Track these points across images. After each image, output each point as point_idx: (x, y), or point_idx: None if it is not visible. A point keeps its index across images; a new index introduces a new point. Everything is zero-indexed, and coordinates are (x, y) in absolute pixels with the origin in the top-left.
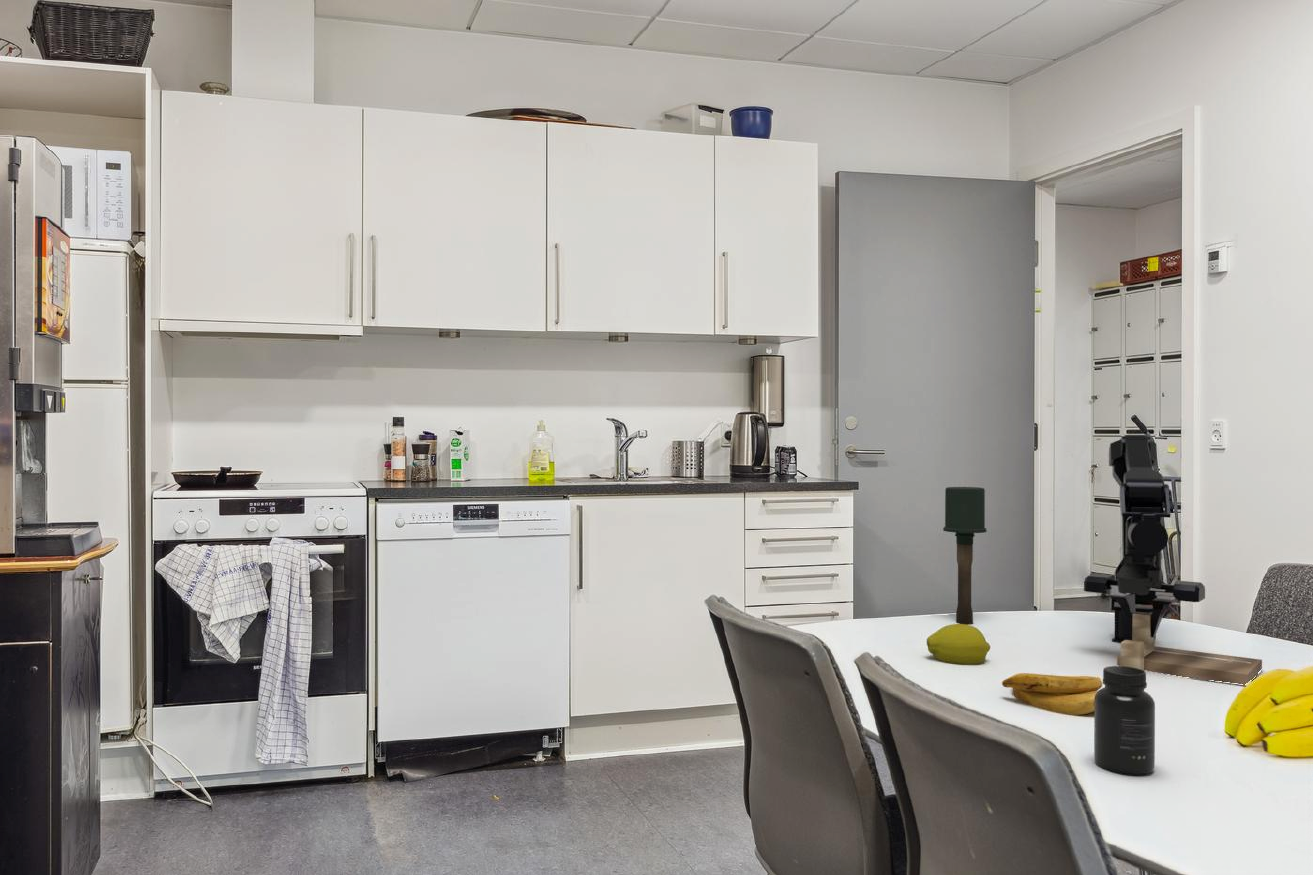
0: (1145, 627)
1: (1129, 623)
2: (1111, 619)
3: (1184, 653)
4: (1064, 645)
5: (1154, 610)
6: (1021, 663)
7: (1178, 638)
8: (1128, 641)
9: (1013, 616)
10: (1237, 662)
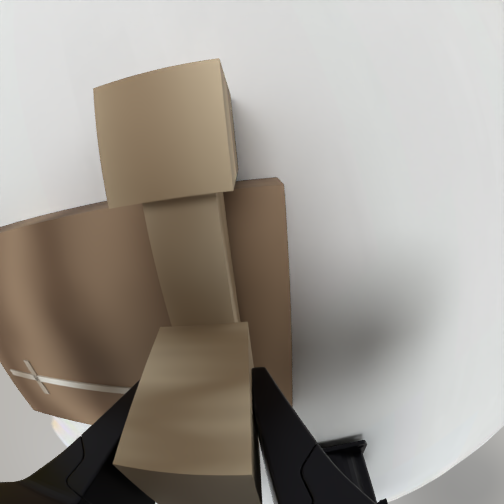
0: (159, 391)
1: (279, 411)
2: None
3: None
4: (455, 364)
5: (70, 490)
6: (501, 67)
7: (269, 499)
8: (189, 137)
9: (483, 437)
10: (22, 367)
